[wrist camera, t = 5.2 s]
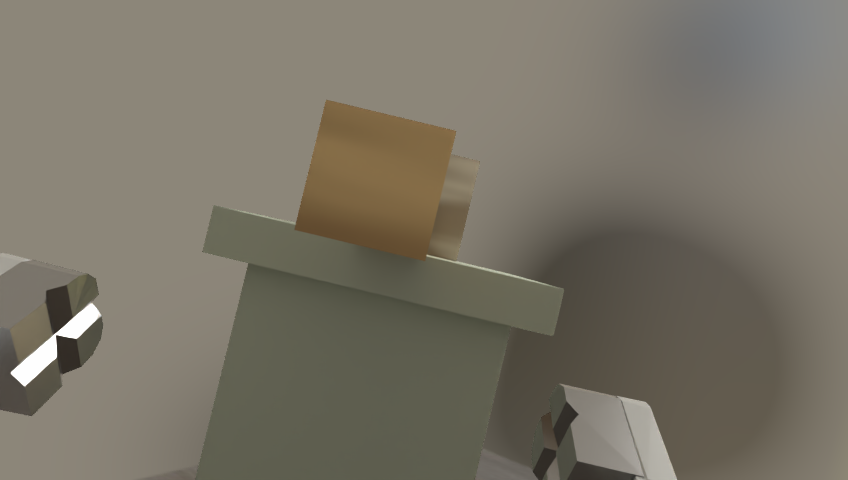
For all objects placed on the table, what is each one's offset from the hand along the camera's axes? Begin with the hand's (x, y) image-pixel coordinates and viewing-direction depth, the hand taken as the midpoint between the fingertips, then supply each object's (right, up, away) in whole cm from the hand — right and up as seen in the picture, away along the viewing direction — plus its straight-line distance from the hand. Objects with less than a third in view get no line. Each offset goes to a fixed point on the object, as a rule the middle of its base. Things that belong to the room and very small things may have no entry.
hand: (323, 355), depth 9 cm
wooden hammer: (0, +2, +13) cm, 13 cm away
